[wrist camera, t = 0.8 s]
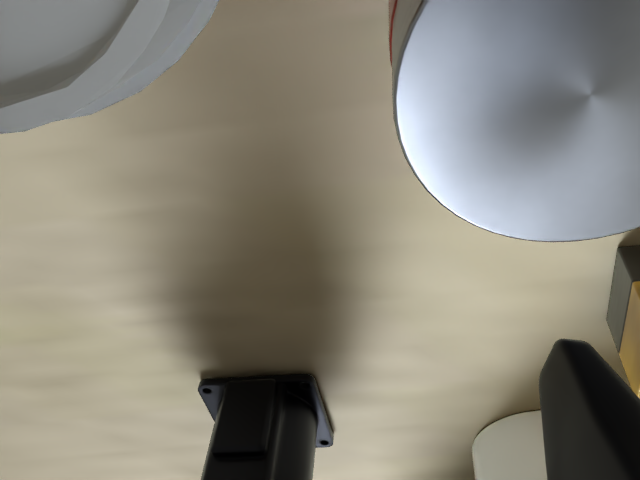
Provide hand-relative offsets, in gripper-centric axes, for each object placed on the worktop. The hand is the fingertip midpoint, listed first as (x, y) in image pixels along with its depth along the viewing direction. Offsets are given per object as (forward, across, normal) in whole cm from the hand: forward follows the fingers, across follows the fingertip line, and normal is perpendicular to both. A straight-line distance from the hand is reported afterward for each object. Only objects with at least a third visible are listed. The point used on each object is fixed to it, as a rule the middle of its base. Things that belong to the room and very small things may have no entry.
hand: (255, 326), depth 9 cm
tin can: (+14, -5, -3) cm, 15 cm away
